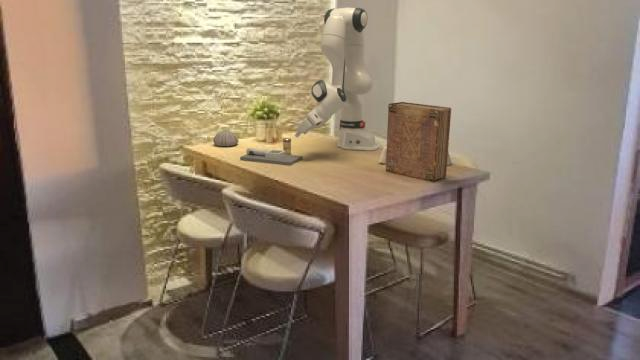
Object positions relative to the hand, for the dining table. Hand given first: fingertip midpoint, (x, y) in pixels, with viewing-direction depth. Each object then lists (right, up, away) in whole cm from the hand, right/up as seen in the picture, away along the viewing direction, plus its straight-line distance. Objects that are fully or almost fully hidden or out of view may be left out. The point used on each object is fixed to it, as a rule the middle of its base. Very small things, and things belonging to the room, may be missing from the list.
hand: (300, 134), depth 267 cm
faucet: (+45, -14, -5) cm, 47 cm away
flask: (+68, -15, -9) cm, 70 cm away
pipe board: (-13, -12, -5) cm, 19 cm away
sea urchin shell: (-40, -4, +26) cm, 48 cm away
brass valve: (-7, -9, +6) cm, 13 cm away
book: (+51, -20, -29) cm, 62 cm away
